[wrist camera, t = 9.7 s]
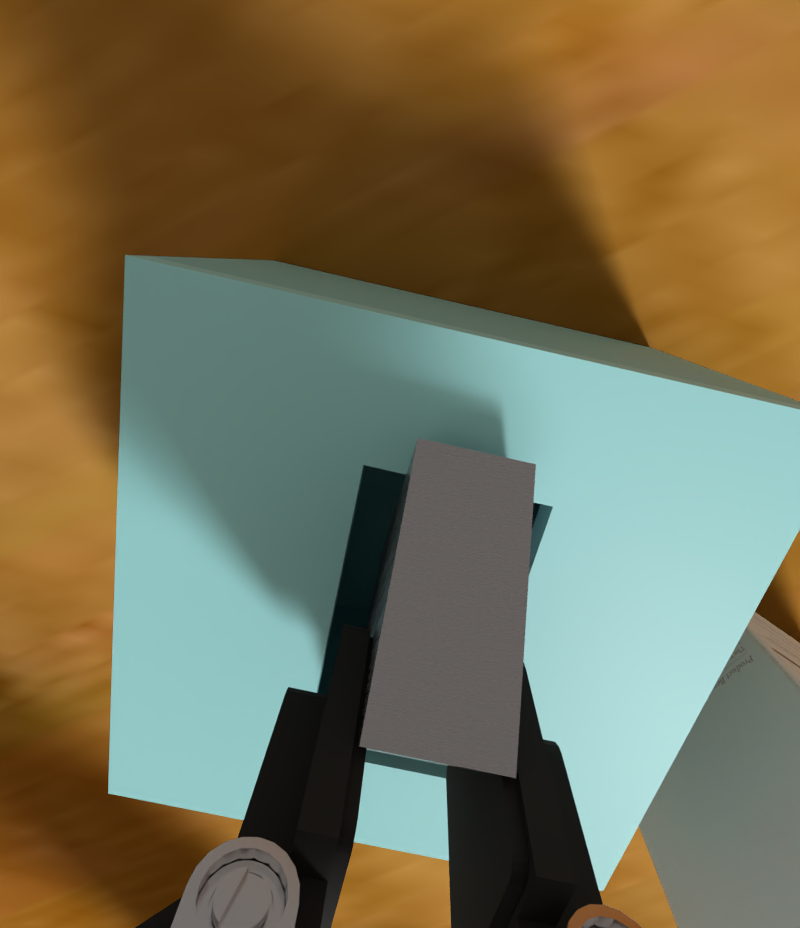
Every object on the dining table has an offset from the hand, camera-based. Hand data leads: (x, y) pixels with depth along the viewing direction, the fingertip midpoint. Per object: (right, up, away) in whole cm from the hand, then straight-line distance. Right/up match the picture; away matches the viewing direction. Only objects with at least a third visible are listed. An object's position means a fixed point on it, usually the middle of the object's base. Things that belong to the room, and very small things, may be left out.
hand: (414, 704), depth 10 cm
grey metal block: (+1, +3, +2) cm, 4 cm away
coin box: (+1, +4, +11) cm, 12 cm away
